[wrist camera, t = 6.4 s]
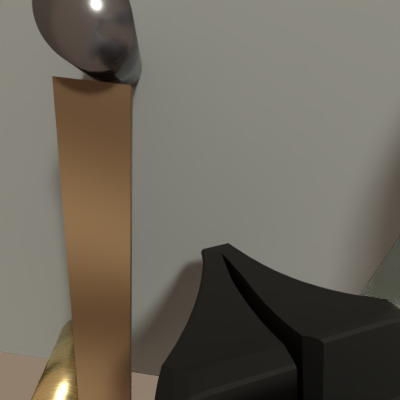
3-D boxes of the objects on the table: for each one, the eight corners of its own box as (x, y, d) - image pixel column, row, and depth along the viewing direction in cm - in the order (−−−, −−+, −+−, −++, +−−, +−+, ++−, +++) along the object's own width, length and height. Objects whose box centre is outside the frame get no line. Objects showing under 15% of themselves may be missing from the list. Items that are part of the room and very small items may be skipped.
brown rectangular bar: (91, 93, 10) (52, 76, 6) (138, 98, 10) (130, 85, 6) (101, 354, 13) (82, 444, 10) (135, 351, 14) (129, 436, 10)
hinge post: (99, 25, 9) (47, -69, 5) (149, 52, 10) (147, -8, 5) (83, 77, 10) (20, 38, 5) (132, 100, 10) (115, 84, 6)
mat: (84, -328, 7) (81, -348, 7) (507, 65, 13) (515, 64, 13) (-72, 335, 12) (-77, 340, 12) (289, 391, 18) (291, 396, 18)
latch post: (69, 309, 13) (28, 401, 9) (107, 317, 13) (87, 407, 9) (58, 338, 13) (14, 441, 9) (95, 345, 14) (71, 444, 10)
